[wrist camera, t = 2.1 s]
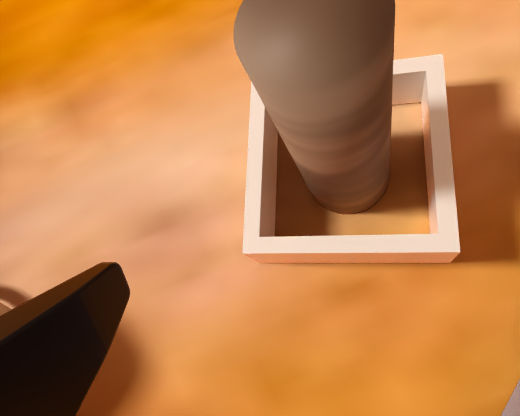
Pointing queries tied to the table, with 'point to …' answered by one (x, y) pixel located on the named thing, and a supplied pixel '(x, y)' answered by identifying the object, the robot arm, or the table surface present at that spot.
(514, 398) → the tray
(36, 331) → the robot arm
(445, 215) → the holder
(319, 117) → the pepper mill
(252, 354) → the table surface
